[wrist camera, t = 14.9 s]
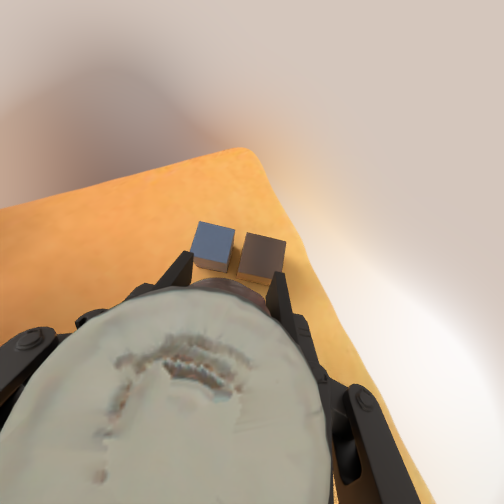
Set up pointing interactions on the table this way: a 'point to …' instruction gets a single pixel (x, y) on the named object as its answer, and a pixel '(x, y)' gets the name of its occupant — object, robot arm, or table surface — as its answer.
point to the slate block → (212, 246)
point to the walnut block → (260, 258)
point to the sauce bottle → (171, 408)
